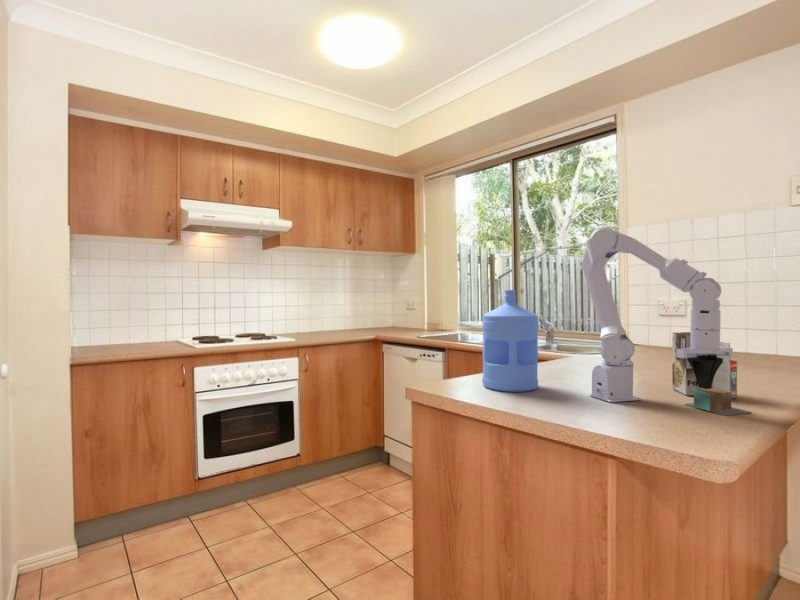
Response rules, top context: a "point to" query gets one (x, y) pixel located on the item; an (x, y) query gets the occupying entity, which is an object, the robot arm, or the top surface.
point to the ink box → (726, 375)
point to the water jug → (510, 347)
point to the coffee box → (682, 366)
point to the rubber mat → (725, 412)
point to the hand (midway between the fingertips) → (704, 387)
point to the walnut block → (712, 399)
